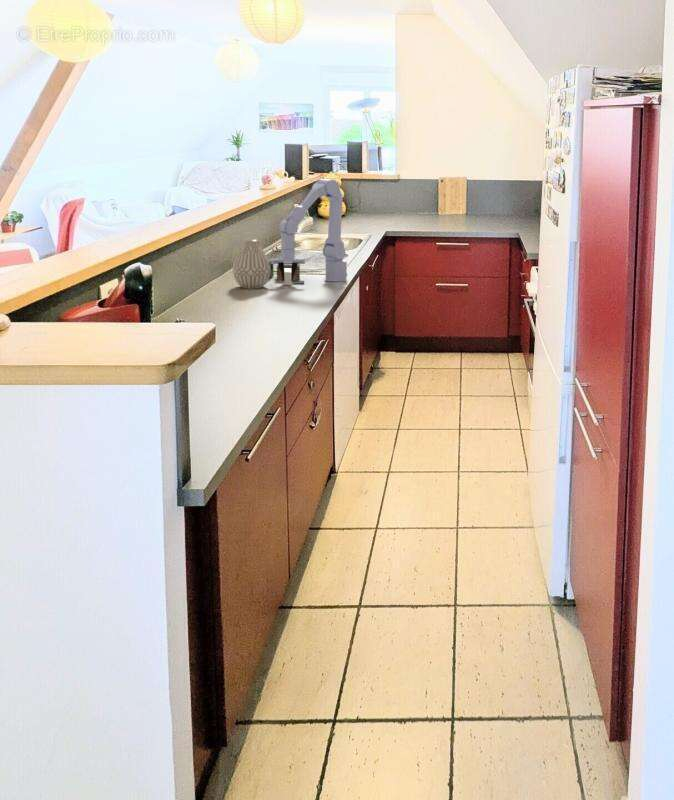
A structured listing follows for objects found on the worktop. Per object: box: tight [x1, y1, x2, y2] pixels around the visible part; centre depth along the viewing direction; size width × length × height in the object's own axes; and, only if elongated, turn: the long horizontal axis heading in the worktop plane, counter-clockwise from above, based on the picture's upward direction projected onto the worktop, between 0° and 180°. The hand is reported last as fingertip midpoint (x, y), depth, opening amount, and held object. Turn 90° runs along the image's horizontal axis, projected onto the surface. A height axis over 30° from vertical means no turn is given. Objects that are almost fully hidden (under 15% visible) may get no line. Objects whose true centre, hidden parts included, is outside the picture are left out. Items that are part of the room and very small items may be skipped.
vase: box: [232, 238, 271, 290], centre depth 413 cm, size 16×16×20 cm
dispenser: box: [276, 264, 301, 281], centre depth 437 cm, size 10×8×7 cm
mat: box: [292, 280, 305, 285], centre depth 427 cm, size 5×6×1 cm
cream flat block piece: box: [283, 268, 292, 286], centre depth 426 cm, size 3×12×6 cm, turn 3°
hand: (287, 280), depth 423 cm, fingers closed on cream flat block piece, 3 cm apart
